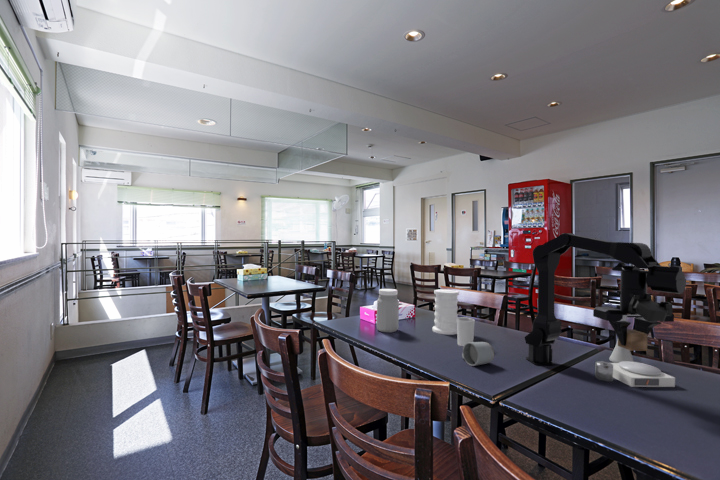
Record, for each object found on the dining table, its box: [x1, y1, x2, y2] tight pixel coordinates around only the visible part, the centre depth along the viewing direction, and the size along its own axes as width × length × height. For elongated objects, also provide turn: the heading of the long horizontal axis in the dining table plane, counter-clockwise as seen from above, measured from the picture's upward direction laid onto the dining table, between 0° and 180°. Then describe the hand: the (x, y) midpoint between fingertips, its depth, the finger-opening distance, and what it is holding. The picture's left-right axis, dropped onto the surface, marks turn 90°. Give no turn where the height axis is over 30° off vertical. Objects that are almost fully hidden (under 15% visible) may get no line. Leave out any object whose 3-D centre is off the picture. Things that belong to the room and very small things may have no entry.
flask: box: [608, 339, 635, 363], centre depth 122 cm, size 7×7×10 cm
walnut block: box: [617, 329, 648, 352], centre depth 97 cm, size 4×4×4 cm
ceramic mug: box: [461, 341, 495, 367], centre depth 119 cm, size 10×8×7 cm
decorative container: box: [431, 288, 460, 336], centre depth 158 cm, size 12×12×18 cm
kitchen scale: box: [610, 361, 676, 388], centre depth 107 cm, size 13×12×4 cm
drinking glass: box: [456, 316, 476, 348], centre depth 138 cm, size 7×7×10 cm
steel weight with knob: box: [594, 360, 614, 382], centre depth 107 cm, size 4×4×5 cm
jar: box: [376, 288, 400, 333], centre depth 158 cm, size 10×10×18 cm
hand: (631, 345), depth 97 cm, fingers closed on walnut block, 4 cm apart
